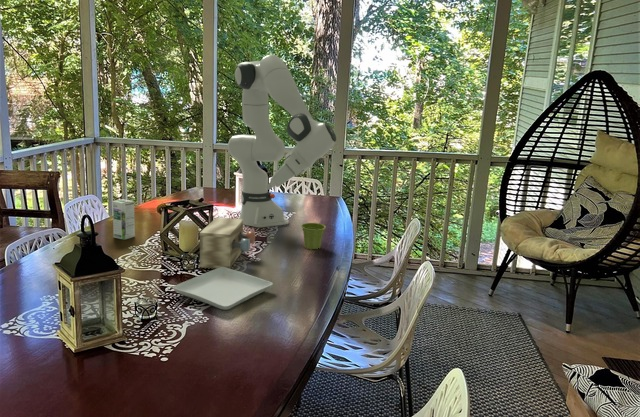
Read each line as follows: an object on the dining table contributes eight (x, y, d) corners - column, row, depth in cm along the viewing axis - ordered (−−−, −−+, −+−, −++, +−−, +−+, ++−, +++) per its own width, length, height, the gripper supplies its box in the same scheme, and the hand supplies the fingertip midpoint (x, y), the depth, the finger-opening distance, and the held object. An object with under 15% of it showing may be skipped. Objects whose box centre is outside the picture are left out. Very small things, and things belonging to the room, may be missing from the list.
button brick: (234, 244, 173) (234, 232, 172) (236, 240, 177) (237, 228, 176) (252, 245, 172) (253, 233, 171) (255, 241, 177) (255, 230, 176)
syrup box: (113, 237, 187) (111, 201, 184) (125, 234, 193) (123, 198, 189) (123, 240, 185) (122, 203, 182) (135, 236, 190) (134, 200, 187)
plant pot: (327, 246, 192) (329, 224, 190) (319, 252, 184) (321, 230, 182) (305, 242, 195) (306, 221, 193) (296, 249, 187) (297, 227, 185)
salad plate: (226, 317, 129) (226, 305, 128) (170, 296, 139) (170, 285, 139) (274, 292, 146) (275, 282, 145) (222, 275, 157) (222, 265, 156)
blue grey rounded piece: (227, 252, 164) (227, 239, 163) (230, 248, 168) (231, 235, 167) (247, 253, 164) (247, 241, 163) (250, 249, 168) (250, 237, 167)
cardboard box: (199, 267, 162) (199, 232, 159) (216, 248, 182) (216, 217, 179) (229, 269, 162) (229, 234, 159) (242, 250, 181) (243, 219, 178)
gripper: (294, 151, 177) (267, 176, 180) (287, 158, 157) (256, 186, 160) (306, 164, 178) (278, 188, 181) (300, 173, 158) (269, 200, 161)
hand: (268, 187), depth 170 cm, fingers closed
